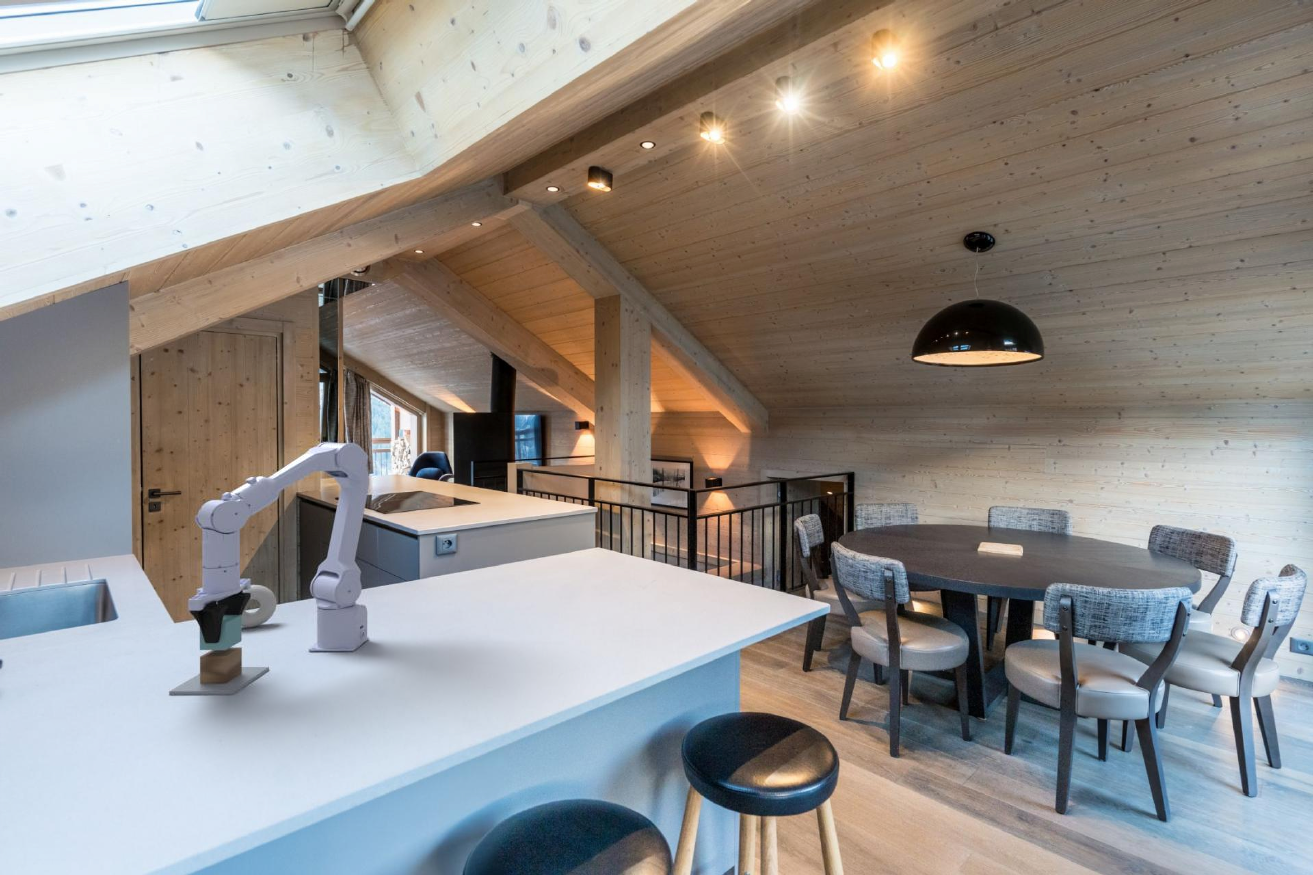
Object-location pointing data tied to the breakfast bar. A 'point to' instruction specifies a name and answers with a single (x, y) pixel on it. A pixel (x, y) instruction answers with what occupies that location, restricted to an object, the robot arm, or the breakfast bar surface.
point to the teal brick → (226, 634)
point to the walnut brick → (220, 665)
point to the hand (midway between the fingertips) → (221, 637)
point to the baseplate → (219, 689)
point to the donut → (266, 606)
